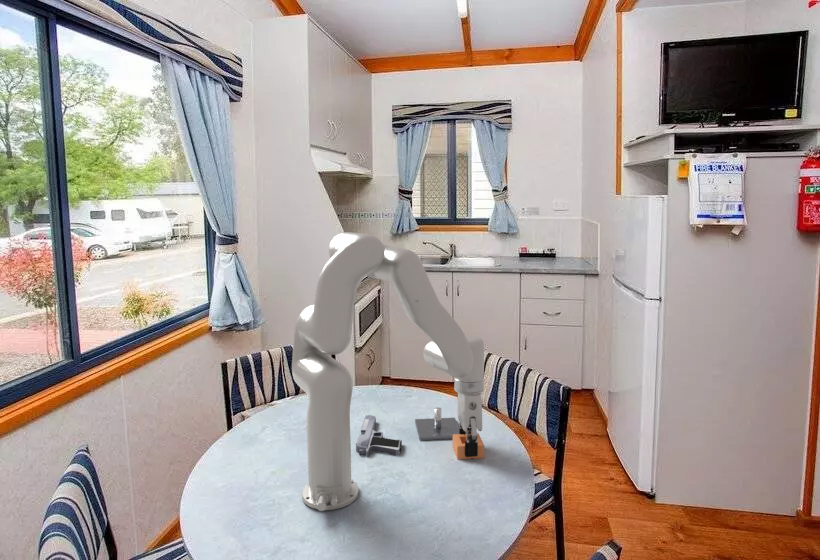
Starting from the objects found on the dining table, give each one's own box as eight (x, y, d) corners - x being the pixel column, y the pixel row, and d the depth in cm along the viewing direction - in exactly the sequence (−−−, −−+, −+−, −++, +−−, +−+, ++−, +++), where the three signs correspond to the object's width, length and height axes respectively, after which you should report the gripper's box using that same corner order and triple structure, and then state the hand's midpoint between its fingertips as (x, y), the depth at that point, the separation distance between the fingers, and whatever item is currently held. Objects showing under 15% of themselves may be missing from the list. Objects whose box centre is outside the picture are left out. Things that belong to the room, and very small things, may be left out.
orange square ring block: (484, 457, 137) (484, 445, 136) (457, 459, 136) (457, 446, 136) (478, 445, 144) (478, 433, 143) (452, 446, 143) (452, 434, 142)
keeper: (462, 438, 148) (462, 416, 147) (419, 440, 147) (419, 418, 146) (454, 420, 160) (454, 400, 159) (415, 422, 158) (415, 401, 157)
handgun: (404, 415, 159) (365, 414, 159) (399, 450, 137) (353, 449, 137) (404, 423, 159) (365, 422, 160) (399, 459, 137) (353, 458, 138)
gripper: (491, 396, 129) (490, 464, 132) (476, 372, 146) (475, 433, 149) (460, 397, 128) (460, 466, 131) (449, 373, 145) (448, 435, 148)
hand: (468, 448), depth 140 cm, fingers closed on orange square ring block, 7 cm apart
